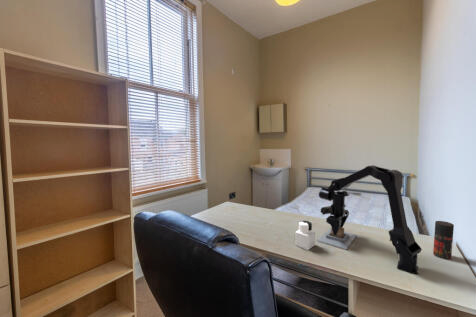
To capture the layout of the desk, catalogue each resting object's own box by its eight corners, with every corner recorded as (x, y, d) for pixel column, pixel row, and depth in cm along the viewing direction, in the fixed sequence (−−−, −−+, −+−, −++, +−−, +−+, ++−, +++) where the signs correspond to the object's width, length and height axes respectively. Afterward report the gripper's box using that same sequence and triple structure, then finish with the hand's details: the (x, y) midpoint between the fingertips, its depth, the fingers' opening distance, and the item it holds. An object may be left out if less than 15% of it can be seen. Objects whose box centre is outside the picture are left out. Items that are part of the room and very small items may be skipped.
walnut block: (341, 240, 113) (341, 231, 112) (331, 237, 116) (331, 228, 115) (343, 237, 116) (344, 227, 116) (334, 234, 120) (334, 225, 119)
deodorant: (432, 251, 102) (434, 219, 100) (450, 255, 98) (453, 222, 97) (433, 256, 97) (435, 223, 96) (452, 261, 93) (454, 227, 92)
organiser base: (346, 249, 104) (346, 245, 104) (317, 241, 113) (317, 237, 113) (356, 235, 119) (356, 231, 119) (330, 228, 128) (330, 225, 128)
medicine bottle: (302, 240, 114) (302, 218, 113) (315, 245, 109) (315, 221, 108) (294, 245, 109) (295, 222, 108) (308, 250, 104) (308, 226, 103)
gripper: (328, 196, 127) (328, 223, 128) (316, 204, 113) (315, 233, 114) (349, 200, 119) (348, 227, 121) (339, 208, 105) (338, 239, 107)
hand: (337, 231), depth 116 cm, fingers open, 9 cm apart
